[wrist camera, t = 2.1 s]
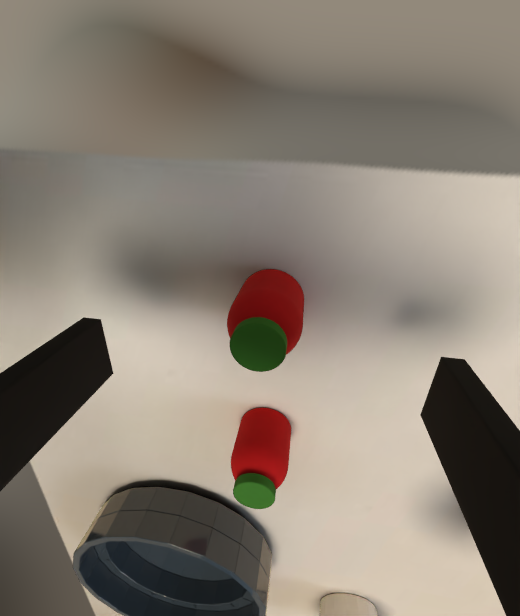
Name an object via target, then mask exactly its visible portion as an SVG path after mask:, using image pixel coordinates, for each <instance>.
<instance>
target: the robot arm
mask: <svg viewBox="0 0 520 616" xmlns="http://www.w3.org/2000/svg"><path fill="white" fill-rule="evenodd" d="M112 374H113V371H112V366H111V362H110V358H109V353H108V349H107V345H106V340H105V336H104V332H103V327H102V323H101V319H92V318H82V319H81V320H79V321H78V322H76V323H75V324H73V325H72V326H70V327H69V328H67V329H66V330H64V331H63V332H61V333H60V334H58V335H57V336H56V337H54V338H53V339H51V340H50V341H48V342H47V343H45V344H44V345H42V346H41V347H39V348H38V349H36V350H35V351H33V352H32V353H30V354H29V355H27V356H26V357H24V358H23V359H21V360H20V361H18V362H17V363H15V364H14V365H12V366H11V367H9V368H8V369H6V370H5V371H3V372H2V373H0V491H1V490H2V489H3V488H4V487H5V486H6V485H7V484H8V483H9V482H10V481H11V480H12V478H13V477H14V476H15V475H16V474H17V473H18V472H19V471H20V470H21V469H22V468H23V467H24V466H25V465H26V464H27V463H28V462H29V461H30V460H31V459H32V458H33V457H34V456H35V454H36V453H37V452H38V451H39V450H40V449H41V448H42V447H43V446H44V445H45V444H46V443H47V442H48V441H49V440H50V439H51V438H52V437H53V436H54V435H55V434H56V433H57V432H58V430H59V429H60V428H61V427H62V426H63V425H64V424H65V423H66V422H67V421H68V420H69V419H70V418H71V417H72V416H73V415H74V414H75V413H76V412H77V411H78V410H79V409H80V407H81V406H82V405H83V404H84V403H85V402H86V401H87V400H88V399H89V398H90V397H91V396H92V395H93V394H94V393H95V392H96V391H97V390H98V389H99V388H100V387H101V386H102V385H103V383H104V382H105V381H106V380H107V379H108V378H109V377H110V376H111V375H112ZM421 417H422V419H423V422H424V424H425V426H426V429H427V431H428V433H429V436H430V438H431V440H432V443H433V445H434V447H435V450H436V452H437V454H438V457H439V459H440V461H441V464H442V466H443V468H444V471H445V473H446V475H447V478H448V480H449V483H450V485H451V487H452V490H453V492H454V494H455V497H456V499H457V501H458V504H459V506H460V508H461V511H462V513H463V515H464V518H465V520H466V522H467V525H468V527H469V529H470V532H471V534H472V536H473V539H474V541H475V543H476V546H477V548H478V550H479V553H480V555H481V557H482V560H483V562H484V564H485V567H486V569H487V571H488V574H489V576H490V578H491V581H492V583H493V586H494V588H495V590H496V593H497V595H498V597H499V600H500V602H501V604H502V607H503V609H504V611H505V614H506V616H520V431H519V429H518V428H517V427H516V425H515V424H514V423H513V422H512V420H511V419H510V418H509V416H508V415H507V414H506V413H505V411H504V410H503V409H502V407H501V406H500V405H499V403H498V402H497V401H496V400H495V398H494V397H493V396H492V394H491V393H490V392H489V391H488V389H487V388H486V387H485V385H484V384H483V383H482V382H481V380H480V379H479V378H478V376H477V375H476V374H475V372H474V371H473V370H472V369H471V367H470V366H469V365H468V363H467V362H466V361H465V360H464V359H455V358H446V357H441V359H440V362H439V365H438V367H437V370H436V373H435V376H434V379H433V381H432V384H431V387H430V390H429V393H428V395H427V398H426V401H425V404H424V407H423V410H422V412H421Z"/></svg>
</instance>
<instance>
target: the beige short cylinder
mask: <svg viewBox="0 0 520 616" xmlns="http://www.w3.org/2000/svg"><path fill="white" fill-rule="evenodd" d="M320 616H378V615H377V610H376V608H375V606H374V605H373V604H372V603H371V602H369V601H368V600H367V599H364V598H362V597H359V596H357V595H352V594H346V593H334V594H330V595H326V596H325V597H323V598H322V599H321V602H320Z"/></svg>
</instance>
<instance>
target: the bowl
mask: <svg viewBox="0 0 520 616" xmlns="http://www.w3.org/2000/svg"><path fill="white" fill-rule="evenodd" d="M271 558H272V553H271V551H270V549H269V547H268V545H267V543H266V541H265V539H264V537H263V536H262V535H261V534H260V533H259V532H258V531H257V530H256V529H255V528H254V527H253V526H252V525H251V524H250V523H249V522H248V521H247V520H246V519H245V518H244V517H242V516H241V515H239V514H237V513H236V512H234V511H232V510H231V509H229V508H227V507H226V506H224V505H222V504H221V503H219V502H216V501H213V500H210V499H208V498H205V497H202V496H199V495H197V494H194V493H191V492H188V491H182V490H176V489H170V488H164V487H141V488H131V489H128V490H125V491H123V492H120V493H117V494H115V495H113V496H112V497H111V498H110V499H109V500H108V501H107V502H106V503H105V504H104V505H103V506H102V508H101V509H100V511H99V513H98V514H97V516H96V517H95V519H94V521H93V522H92V524H91V526H90V527H89V529H88V531H87V532H86V534H85V536H84V537H83V539H82V541H81V542H80V544H79V546H78V547H77V549H76V550H75V552H74V556H73V569H74V571H75V573H76V575H77V577H78V579H79V581H80V582H81V584H82V585H83V586H84V587H85V588H86V589H87V590H88V591H89V592H90V593H91V594H92V595H93V596H94V597H95V598H97V599H98V600H100V601H101V602H103V603H104V604H106V605H107V606H108V607H110V608H111V609H113V610H114V611H116V612H118V613H120V614H122V615H124V616H266V613H267V603H268V593H269V583H270V573H271Z"/></svg>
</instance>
